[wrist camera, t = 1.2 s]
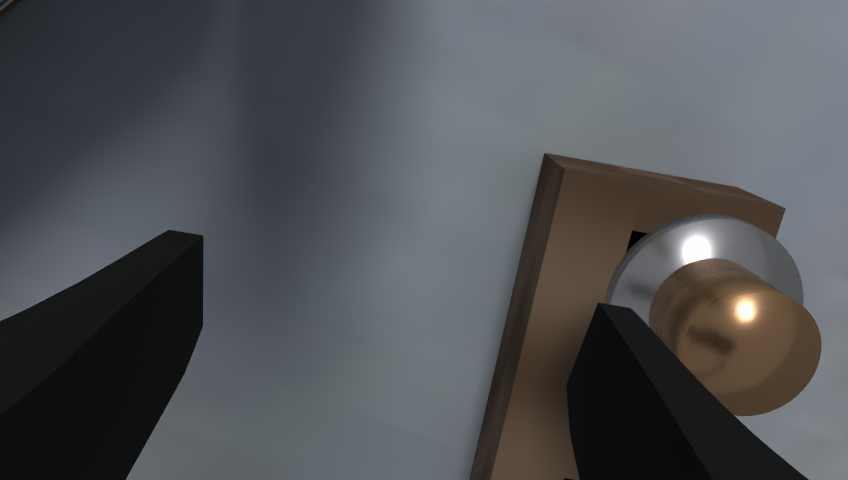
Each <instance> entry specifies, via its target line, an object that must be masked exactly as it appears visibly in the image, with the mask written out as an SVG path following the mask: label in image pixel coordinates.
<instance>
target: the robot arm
mask: <svg viewBox="0 0 848 480" xmlns="http://www.w3.org/2000/svg"><path fill="white" fill-rule="evenodd" d="M202 327H203V236H202V235H196V234H190V233H184V232H178V231H172V230H168V231H166V232H164V233H162V234H161V235H159V236H157V237H155V238H154V239H152V240H150V241H149V242H147V243H145V244H144V245H142V246H140V247H139V248H137V249H135V250H134V251H132V252H130V253H129V254H127V255H125V256H124V257H122V258H120V259H119V260H117V261H115V262H113V263H112V264H110V265H108V266H106V267H105V268H103V269H101V270H100V271H98V272H96V273H94V274H93V275H91V276H89V277H87V278H86V279H84V280H82V281H80V282H78V283H77V284H75V285H73V286H71V287H69V288H67V289H65V290H63V291H61V292H59V293H57V294H55V295H53V296H51V297H49V298H48V299H46V300H44V301H42V302H40V303H38V304H36V305H34V306H32V307H30V308H28V309H26V310H24V311H22V312H20V313H17V314H15V315H13V316H11V317H9V318H6V319H4V320H2V321H0V480H126V478H127V476H128V474H129V473H130V471H131V469H132V467H133V465H134V464H135V462H136V460H137V458H138V456H139V455H140V453H141V451H142V449H143V447H144V446H145V444H146V442H147V440H148V439H149V437H150V435H151V433H152V431H153V430H154V428H155V426H156V424H157V422H158V421H159V419H160V417H161V415H162V414H163V412H164V410H165V408H166V406H167V404H168V403H169V401H170V399H171V397H172V395H173V394H174V392H175V390H176V388H177V386H178V384H179V383H180V381H181V379H182V377H183V375H184V373H185V371H186V368H187V366H188V363H189V361H190V358H191V356H192V353H193V351H194V348H195V345H196V343H197V340H198V337H199V335H200V332H201V329H202ZM566 387H567V403H568V417H569V428H570V436H571V441H572V446H573V451H574V456H575V461H576V465H577V470H578V475H579V479H580V480H808V479H807V478H806V477H805V476H803V475H802V474H801V473H799V472H798V471H797V470H796V469H795V468H793V467H792V466H791V465H790V464H789V463H787V462H786V461H785V460H784V459H782V458H781V457H780V456H779V455H778V454H776V453H775V452H774V451H773V450H772V449H770V448H769V447H768V446H767V445H766V444H764V443H763V442H762V441H761V440H760V439H759V438H758V437H757V436H755V435H754V434H753V433H752V432H751V431H750V430H749V429H748V428H747V427H746V426H745V425H743V424H742V423H741V422H740V421H739V420H738V419H737V418H736V417H735V416H734V415H733V414H732V413H731V412H730V411H729V410H728V409H727V408H726V407H725V406H723V405H722V404H721V403H720V402H719V401H718V400H717V399H716V398H715V397H714V396H713V395H712V394H711V393H710V392H709V391H708V390H707V388H706V387H705V386H704V385H703V384H702V383H701V382H700V381H699V380H698V379H697V378H696V377H695V376H694V375H693V374H692V373H691V372H690V371H689V370H688V369H687V368H686V366H685V365H684V364H683V363H682V362H681V361H680V360H679V359H678V358H677V357H676V356H675V355H674V353H673V352H672V351H671V350H670V349H669V348H668V347H667V346H666V345H665V344H664V342H663V341H662V340H661V339H660V338H659V337H658V336H657V335H656V334H655V333H654V332H653V330H652V329H651V328H650V327H649V326H648V325H647V324H646V323H645V322H644V321H643V320H642V319H641V318H640V317H639V316H638V315H637V314H636V313H635V312H634V311H633V310H632V309H631V308H628V307H622V306H616V305H610V304H605V303H599V302H598V304H597V306H596V309H595V312H594V314H593V317H592V319H591V322H590V325H589V327H588V330H587V332H586V335H585V338H584V340H583V343H582V345H581V348H580V351H579V353H578V356H577V359H576V361H575V364H574V366H573V369H572V372H571V374H570V377H569V379H568V382H567V385H566Z"/></svg>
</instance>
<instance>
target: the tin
mask: <svg viewBox="0 0 848 480" xmlns="http://www.w3.org/2000/svg"><path fill="white" fill-rule="evenodd" d="M20 1H21V0H0V17H1V16H2V15H4V14H5V13H6V12H7V11H9V10H10V9H11V8H12V7H14V6H15V5H16V4H17V3H18V2H20Z"/></svg>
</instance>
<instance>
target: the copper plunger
mask: <svg viewBox="0 0 848 480" xmlns="http://www.w3.org/2000/svg"><path fill="white" fill-rule="evenodd" d="M604 303H605V304H610V305H616V306H622V307H628V308H631V309H632V310H633V311H634V312H635V313H636V314H637V315H638V316H639V317H640V318H641V319H642V320H643V321H644V322H645V323H646V324H647V325H648V326H649V327H650V328H651V329H652V330H653V332H654V333H655V334H656V335H657V336H658V337H659V338H660V339H661V340H662V341H663V342H664V344H665V345H666V346H667V347H668V348H669V349H670V350H671V351H672V352H673V353H674V355H675V356H676V357H677V358H678V359H679V360H680V361H681V362H682V363H683V364H684V365H685V366H686V368H687V369H688V370H689V371H690V372H691V373H692V374H693V375H694V376H695V377H696V378H697V379H698V380H699V381H700V382H701V383H702V384H703V385H704V386H705V387H706V388H707V390H708V391H709V392H710V393H711V394H712V395H713V396H714V397H715V398H716V399H717V400H718V401H719V402H720V403H721V404H722V405H723V406H725V407H726V408H727V409H728V410H729V411H730V412H731V413H732V414H733V415H737V416H752V415H759V414H763V413H767V412H770V411H772V410H775V409H777V408H779V407H781V406H783V405H785V404H786V403H788V402H789V401H791V400H792V399H793V398H795V397H796V396H797V395H798V394H799V393H800V392H801V391H802V390H803V389H804V388H805V387H806V385H807V384H808V383H809V382H810V380H811V378H812V377H813V375H814V373H815V371H816V369H817V366H818V363H819V360H820V354H821V337H820V332H819V329H818V326H817V324H816V322H815V320H814V319H813V317H812V316H811V314H810V313H809V312H808V311H807V310H806V309H805V308H804V307H803V287H802V281H801V278H800V274H799V271H798V269H797V267H796V264H795V262H794V260H793V259H792V257H791V256H790V254H789V253H788V251H787V250H786V249H785V248H784V247H783V246H782V245H781V244H780V243H779V242H778V241H777V240H776V239H775V238H773V237H772V236H771V235H769V234H768V233H766V232H764V231H762V230H761V229H759V228H757V227H755V226H753V225H751V224H749V223H747V222H745V221H742V220H740V219H737V218H734V217H730V216H725V215H717V214H699V215H692V216H686V217H683V218H679V219H676V220H673V221H670V222H668V223H666V224H663V225H661V226H659V227H658V228H656V229H654V230H652V231H651V232H649V233H648V234H647V235H645V236H644V237H642V238H641V239H640V240H639V241H638V242H637V243H636V244H634V245H633V246H632V247H631V248H630V250H629V251H628V252H627V253H626V254H625V255H624V257H623V258H622V259H621V261H620V262H619V264H618V265H617V267H616V269H615V271H614V273H613V275H612V277H611V279H610V282H609V285H608V288H607V292H606V297H605V302H604Z"/></svg>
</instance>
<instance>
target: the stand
mask: <svg viewBox="0 0 848 480" xmlns="http://www.w3.org/2000/svg"><path fill="white" fill-rule="evenodd" d="M785 209H786V208H783V207H781V206H779V205H777V204H774V203H772V202H770V201H767V200H765V199H763V198H760V197H758V196H756V195H754V194H751V193H749V192H747V191H744V190H742V189H740V188H738V187H732V186H727V185H721V184H716V183H710V182H704V181H699V180H693V179H687V178H682V177H676V176H671V175H665V174H659V173H654V172H648V171H643V170H637V169H631V168H626V167H620V166H615V165H609V164H603V163H598V162H592V161H587V160H581V159H575V158H570V157H564V156H559V155H553V154H547V153H545V154H544V158H543V163H542V167H541V171H540V176H539V180H538V184H537V189H536V193H535V198H534V202H533V206H532V211H531V215H530V219H529V224H528V228H527V232H526V237H525V241H524V245H523V250H522V254H521V259H520V263H519V267H518V272H517V276H516V280H515V285H514V289H513V293H512V298H511V302H510V306H509V311H508V315H507V320H506V324H505V328H504V333H503V337H502V341H501V346H500V350H499V354H498V359H497V363H496V367H495V372H494V376H493V380H492V385H491V389H490V394H489V398H488V402H487V407H486V411H485V415H484V420H483V424H482V428H481V433H480V437H479V441H478V446H477V450H476V455H475V459H474V463H473V468H472V472H471V476H470V480H580V479H579V475H578V470H577V465H576V461H575V456H574V451H573V446H572V441H571V436H570V428H569V417H568V403H567V387H566V385H567V382H568V379H569V377H570V374H571V372H572V369H573V366H574V364H575V361H576V359H577V356H578V353H579V351H580V348H581V345H582V343H583V340H584V338H585V335H586V332H587V330H588V327H589V325H590V322H591V319H592V317H593V314H594V312H595V309H596V306H597V304H598V302H599V303H604V302H605V297H606V292H607V288H608V285H609V282H610V279H611V277H612V275H613V273H614V271H615V269H616V267H617V265H618V264H619V262H620V261H621V259H622V258H623V257H624V255H625V254H626V251H627V247H628V243H629V240H630V236H631V232H632V231H638V232H644V233H649V232H651V231H652V230H654V229H656V228H658V227H659V226H661V225H663V224H666V223H668V222H670V221H673V220H676V219H679V218H683V217H686V216H692V215H699V214H717V215H725V216H730V217H734V218H737V219H740V220H742V221H745V222H747V223H749V224H751V225H753V226H755V227H757V228H759V229H761V230H762V231H764V232H766V233H768V234H769V235H771V236H772V237H773V238H775V239H776V236H777V233H778V230H779V227H780V224H781V221H782V218H783V215H784V212H785Z"/></svg>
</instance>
